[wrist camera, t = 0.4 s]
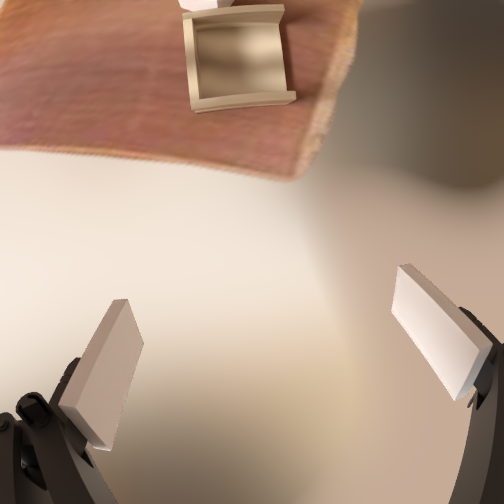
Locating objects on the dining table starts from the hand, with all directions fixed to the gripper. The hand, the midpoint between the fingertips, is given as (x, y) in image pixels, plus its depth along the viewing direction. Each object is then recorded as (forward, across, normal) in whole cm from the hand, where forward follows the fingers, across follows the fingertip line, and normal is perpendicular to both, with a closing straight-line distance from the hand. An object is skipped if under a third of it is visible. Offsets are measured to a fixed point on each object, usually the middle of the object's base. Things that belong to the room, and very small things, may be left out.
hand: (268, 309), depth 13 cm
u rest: (+28, +1, +17) cm, 33 cm away
